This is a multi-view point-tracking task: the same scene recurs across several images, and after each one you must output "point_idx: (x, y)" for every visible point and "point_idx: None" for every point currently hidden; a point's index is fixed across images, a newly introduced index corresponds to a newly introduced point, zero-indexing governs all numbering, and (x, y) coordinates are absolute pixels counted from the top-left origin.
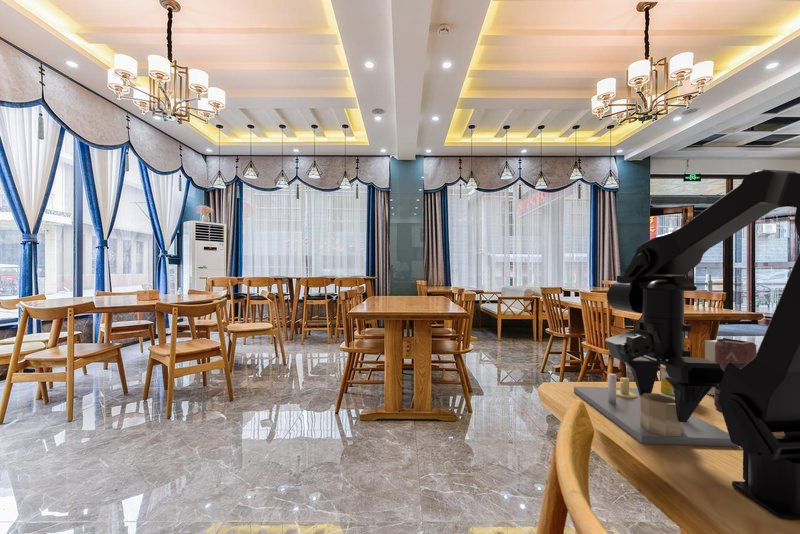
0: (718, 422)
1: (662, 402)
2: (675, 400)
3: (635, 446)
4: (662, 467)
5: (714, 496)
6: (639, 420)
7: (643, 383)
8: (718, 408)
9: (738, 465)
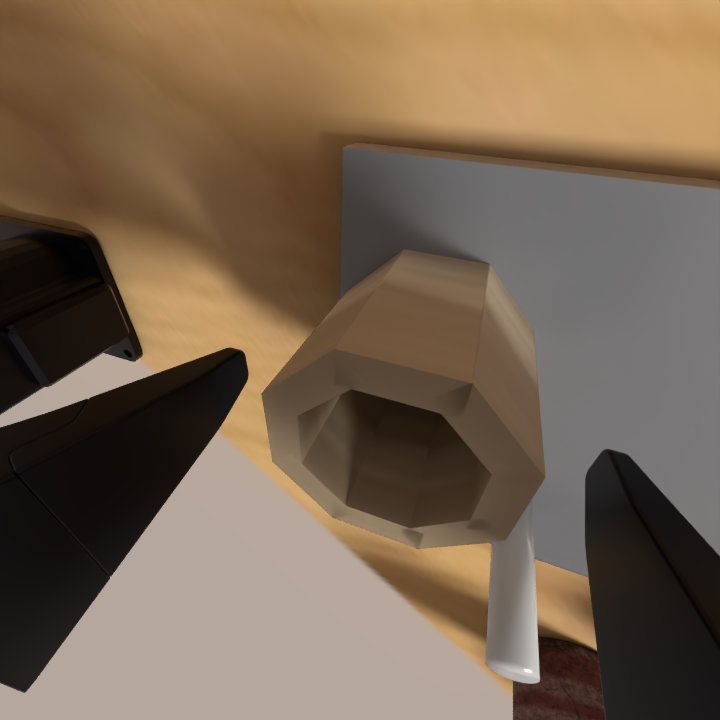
0: None
1: (302, 408)
2: (126, 413)
3: (323, 65)
4: (130, 58)
5: (8, 118)
6: (561, 320)
7: (651, 613)
8: (590, 656)
9: None
